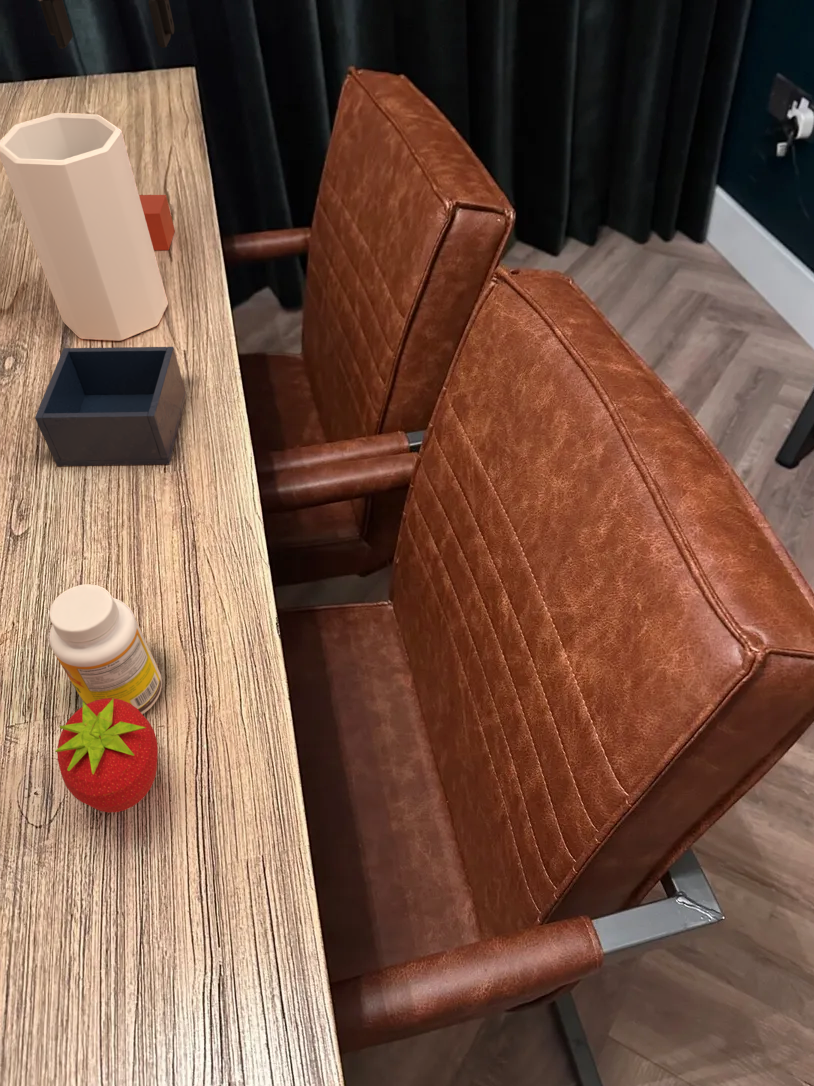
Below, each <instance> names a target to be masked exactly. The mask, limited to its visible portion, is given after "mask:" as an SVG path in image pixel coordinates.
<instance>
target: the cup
mask: <svg viewBox="0 0 814 1086" xmlns="http://www.w3.org/2000/svg"><path fill="white" fill-rule="evenodd" d="M0 161H1V164H2V167H3V169H4V171H5V174H6V177H7V179H8V182H9V185H10V187H11V190H12V192H13V196H14V198H15V200H16V203H17V206H18V209H19V211H20V213H21V216H22V218H23V221H24V223H25V226H26V230H27V231H28V235H29V237H30V240H31V242H32V245H33V247H34V250H35V253H36V256H37V259H38V260H39V264H40V266H41V268H42V272H43V274H44V277H45V278H46V281H47V283H48V287H49V290H50V293H51V295H52V297H53V300H54V302H55V306H56V307H57V310H58V313H59V316H60V319H61V321H62V323H63V324H64V325H65V326H66V327H68V329H69V330H71V331H72V332H73V333H74V335H76V336H77V337H78V338H79V339H82V340H96V341H98V340H100V341H117V342H118V341H119V342H122V341H124V340H127V339H129V338H132V337H133V336H136V335H138V334H141V333H144V332H146V331H148V330H150V329H153V328H155V327H157V326H158V325H159V323H160V322H161V320H162V318H163V316H164V314H165V312H166V310H167V308H168V305H169V302H168V298H167V294H166V291H165V290H166V289H165V286H164V283H163V279H162V275H161V271H160V268H159V264H158V261H157V257H156V253H155V250H154V249H153V245H152V242H151V238H150V234H149V231H148V227H147V223H146V220H145V216H144V212H143V208H142V205H141V201H140V197H139V195H140V194H139V190H138V187H137V183H136V179H135V176H134V172H133V168H132V165H131V160H130V157H129V154H128V149H127V146H126V142H125V139H124V135H123V132H122V130H121V129H120V128H119V127H118V126H116V124H113V123H112V122H110V121H109V120H107V119H106V118H105V117H103V116H101V115H100V114H97V113H78V112H77V113H73V112H54V113H50V114H47V115H43V116H39V117H35V118H32V119H28V120H26V121H22V122H18V123H15V124H14V125H13V126H12V127H11V128H10V129H9V130H8V131H7V132H6V134H4V136H3V137H2V138H1V139H0Z"/></svg>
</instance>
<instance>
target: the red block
mask: <svg viewBox="0 0 814 1086" xmlns="http://www.w3.org/2000/svg"><path fill="white" fill-rule="evenodd" d="M139 197H140V201H141V205H142V208H143V212H144V216H145V220H146V223H147V227H148V231H149V234H150V238H151V242H152V245H153V249H154V251H169V250H170V247H171V245H172V242H173V238H174V236H175V232H176V229H175V225H174V222H173V217H172V214H171V210H170V206H169V200H168V196H167V194H139Z"/></svg>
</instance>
